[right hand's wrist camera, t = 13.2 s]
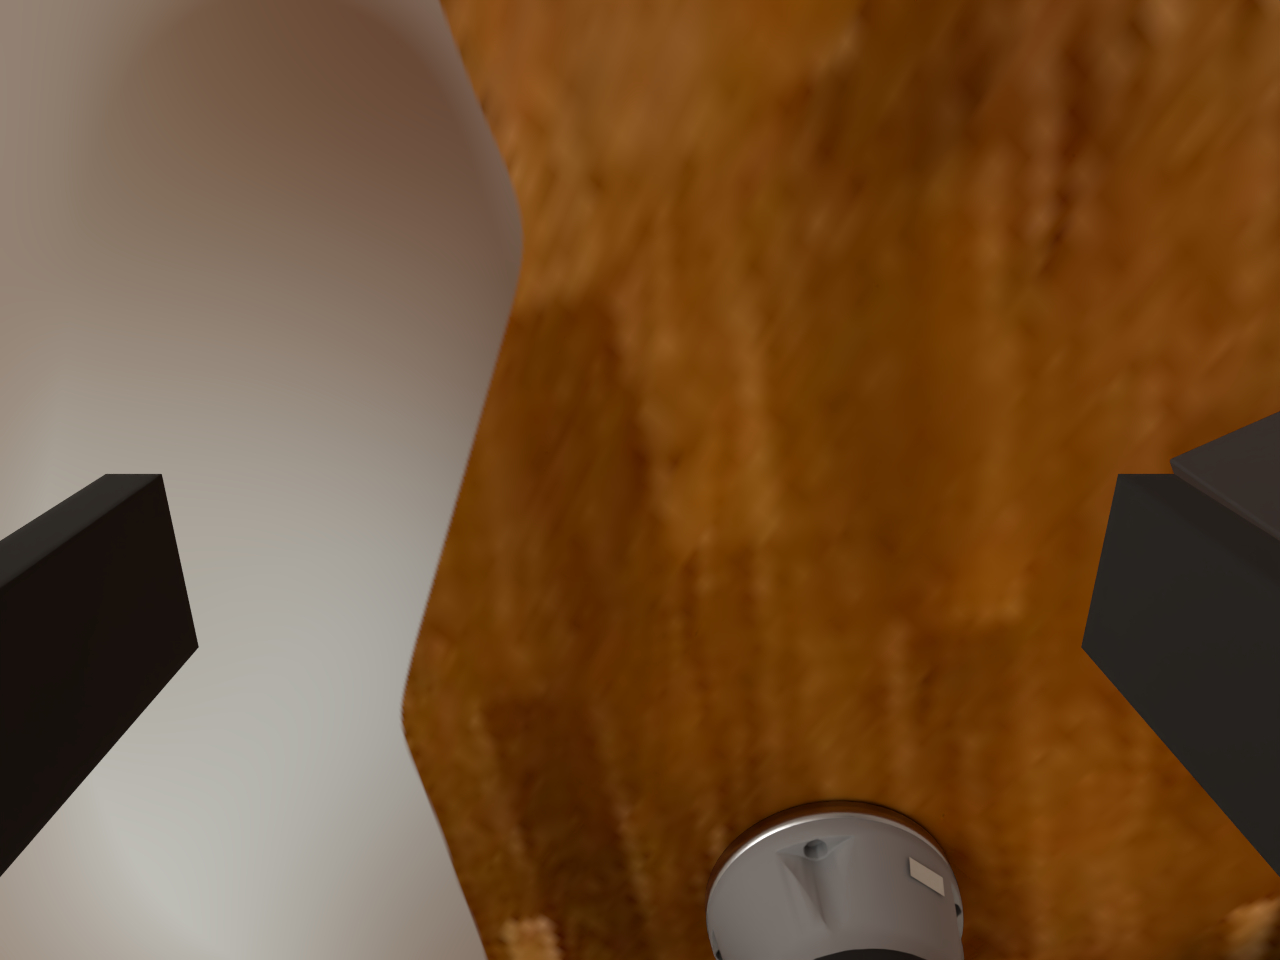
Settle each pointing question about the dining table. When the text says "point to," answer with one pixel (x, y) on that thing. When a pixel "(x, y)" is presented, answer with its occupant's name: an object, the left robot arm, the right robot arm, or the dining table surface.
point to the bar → (1240, 472)
